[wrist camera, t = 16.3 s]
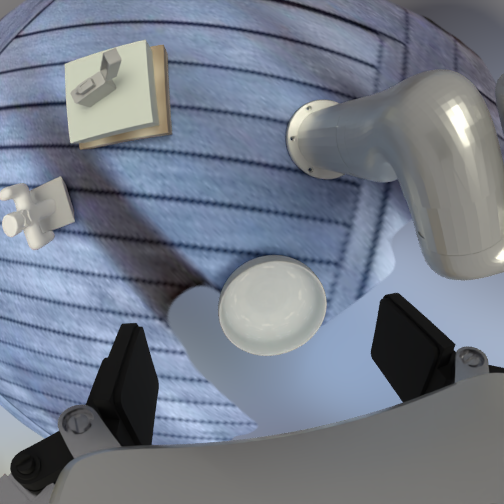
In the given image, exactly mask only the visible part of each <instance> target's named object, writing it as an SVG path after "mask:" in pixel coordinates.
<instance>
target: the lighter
mask: <svg viewBox="0 0 504 504" xmlns="http://www.w3.org/2000/svg"><path fill="white" fill-rule="evenodd" d="M121 61H122V60H121V57H120V55H119V53H118V51H117V49H116V48H114V49H111V50H109V51H107V52H104V53H103V55H102V61H101V67H100V72H97V73H96V74H94V75H93V76H91V77H90V78H87V79H86V80H85V81H83V82H82V83H80V84H79V85H78V86H77V87H76V88H75V89H74V90H72V91H71V93H70V94H71V96H72V98H73V100H74V102H75V103H76V104H80V105H83V106H87V107H92V106H93V105H94V104H96V103H97V102H98V101H100V100H101V99H103V98H104V97H106V96H107V95H109V94H110V93H112V92H113V91H115V90H116V86H115V84H114V82H113V80H112V79H113V78H115V77H117V74H118V71H119V67H120V64H121Z"/></svg>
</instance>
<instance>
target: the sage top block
mask: <svg viewBox="0 0 504 504" xmlns="http://www.w3.org/2000/svg"><path fill="white" fill-rule="evenodd" d="M115 48H116V49H117V51H118V53H119V55H120V57H121V60H122V61H121V64H120V67H119V71H118V74H117V77H115V78H113V79H112V80H113V82H114V84H115V86H116V90H115V91H113V92H112V93H110V94H109V95H107V96H106V97H104V98H103V99H101V100H100V101H98V102H97V103H96V104H94V105H93V106H92V107H87V106H83V105H80V104H76V103H75V102H74V100H73V98H72V96H71V94H70V93H71V91H72V90H74V89H75V88H76V87H77V86H78V85H79V84H80V83H82V82H83V81H85V80H86V79H87V78H90V77H91V76H93V75H94V74H96V73H97V72H100V67H101V61H102V55H103V53H104V52H107V51H109V50H111V49H108V50H105V51H102V52H98V53H95V54H92V55H89V56H86V57H83V58H80V59H77V60H75V61H72V62H69V63H67V64H65V86H66V104H67V116H68V127H69V136H70V143H87V142H91V141H94V140H98V139H102V138H106V137H110V136H113V135H117V134H122V133H126V132H130V131H134V130H139V129H144V128H148V127H153V126H158V125H160V124H159V116H158V107H157V98H156V88H155V77H154V65H153V52H152V50H151V48H150V46H149V45H148V43H147V41H146V40H143V41H139V42H134V43H130V44H126V45H123V46H119V47H115ZM112 49H114V48H112Z"/></svg>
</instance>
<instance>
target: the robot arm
mask: <svg viewBox="0 0 504 504" xmlns="http://www.w3.org/2000/svg"><path fill="white" fill-rule="evenodd" d="M495 96H496V104H497V109H498V113H499V117H500V122H501V126H502V130H503V134H504V74H502V75H501V77H500V78H499V79H498V81H497V83H496V87H495ZM306 108H308V109H309V110H306ZM290 137H292V141H291V140H290ZM286 144H287V149H288V152H289V154H290V157H291V158H292V160H293V162H294V163H295V164H296V165H297V166H298V168H299V169H301V170H302V171H303V172H305V173H306V174H308V175H310V176H312V177H316V178H320V179H334V178H338V177H341V176H343V175H345V174H346V175H350V176H354V177H358V178H362V179H366V180H370V181H375V182H391V181H394V180H397V179H398V181H399V183H400V186H401V189H402V192H403V195H404V197H405V199H406V201H407V204H408V207H409V210H410V213H411V216H412V220H413V223H414V226H415V230H416V233H417V237H418V241H419V244H420V247H421V250H422V254H423V256H424V258H425V261H426V262H427V264H428V265H429V267H430V268H431V269H432V270H433V271H434V272H435V273H437V274H438V275H440V276H442V277H445V278H448V279H452V280H473V279H479V278H484V277H488V276H492V275H495V274H499V273H502V272H504V164H503V159H502V154H501V150H500V145H499V141H498V138H497V134H496V130H495V127H494V124H493V121H492V118H491V115H490V112H489V110H488V108H487V106H486V103H485V101H484V100H483V98H482V96H481V95H480V93H479V91H478V90H477V89H476V87H475V86H474V85H473V84H472V83H471V82H470V81H469V80H468V79H467V78H465V77H464V76H462V75H461V74H459V73H457V72H454V71H450V70H431V71H425V72H422V73H419V74H416V75H414V76H411V77H409V78H407V79H405V80H403V81H402V82H400V83H398V84H396V85H394V86H393V87H391V88H389V89H386V90H384V91H382V92H379V93H376V94H373V95H370V96H366V97H362V98H359V99H355V100H351V101H347V102H344V103H340V104H339V103H337V102H334V101H330V100H316V101H312V102H309V103H307V104H305V105H303V106H302V107H300V108H299V109H298V110H297V111H296V112H295V113H294V114H293V116H292V117H291V119H290V121H289V123H288V126H287V131H286ZM309 168H310V169H311V170H310V171H308V169H309ZM454 347H455V344H454V343H453V342H452V341H451V340H450V339H449V338H448V337H447V336H446V335H445V334H444V333H443V332H441V331H440V330H439V329H438V328H437V327H436V326H435V325H434V324H433V323H432V322H431V321H430V320H428V319H427V318H426V317H425V316H424V315H423V314H422V313H420V312H419V311H418V310H417V309H416V308H415V307H414V306H413V305H412V304H410V303H409V302H408V301H407V300H406V299H405V298H404V297H402V296H401V295H400V294H399V293H393V294H388V295H385V296H384V297H383V299H381V301H380V305H379V311H378V317H377V322H376V328H375V333H374V339H373V343H372V348H371V357H372V359H373V360H374V362H375V363H376V365H377V366H378V367H379V369H380V370H381V372H382V373H383V374H384V375H385V377H386V379H387V380H388V382H389V383H390V384H391V386H392V387H393V389H394V390H395V392H396V393H397V394H398V396H399V397H400V399H401V400H402V402H403V403H401V404H398V405H395V406H392V407H389V408H386V409H382V410H379V411H376V412H373V413H370V414H366V415H363V416H359V417H355V418H352V419H348V420H344V421H340V422H336V423H332V424H328V425H324V426H319V427H315V428H310V429H306V430H300V431H295V432H290V433H284V434H278V435H272V436H265V437H258V438H250V439H243V440H233V441H222V442H210V443H195V444H174V445H152V436H153V427H154V419H155V411H156V404H157V396H158V389H159V383H158V378H157V375H156V372H155V368H154V365H153V362H152V358H151V355H150V351H149V348H148V344H147V341H146V337H145V333H144V330H143V327H138V325H137V323H127V324H122V325H121V327H120V329H119V332H118V334H117V336H116V339H115V341H114V344H113V346H112V349H111V351H110V354H109V356H108V358H104V359H103V361H102V363H101V366H100V368H99V371H98V374H97V376H96V379H95V381H94V384H93V387H92V389H91V392H90V395H89V398H88V400H87V403H86V405H75V406H72V407H70V408H68V409H66V410H65V411H64V412H63V413H62V414H61V415H60V417H59V419H58V428H59V431H58V432H56V433H54V434H53V435H51V436H49V437H47V438H45V439H43V440H42V441H40V442H38V443H36V444H34V445H33V446H31V447H29V448H27V449H25V450H23V451H21V452H19V453H18V454H17V455H16V456H15V457H14V458H13V460H12V463H11V468H10V469H11V474H10V475H9V476H7V475H6V474H4V475H3V476H2V477H1V478H0V504H504V368H501V367H496V366H492V365H488V359H487V357H486V355H485V354H484V353H483V352H482V351H481V350H479V349H477V348H474V347H462V348H460V349H458V351H457V352H455V351H454Z"/></svg>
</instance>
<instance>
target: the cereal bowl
mask: <svg viewBox="0 0 504 504" xmlns="http://www.w3.org/2000/svg"><path fill="white" fill-rule="evenodd" d="M326 304H327V303H326V295H325V291H324V288H323V286H322V284H321V282H320V280H319V279H318V277H317V276H316V275H315V274H314V272H313V271H312V270H311V269H310V268H308V267H307V266H306V265H304V264H303V263H301V262H299V261H298V260H295V259H293V258H290V257H287V256H281V255H269V256H268V255H267V256H262V257H257V258H255V259H253V260H250V261H248V262H246V263H244V264H243V265H241V266H240V267H239V268H238V269H236V270H235V271H234V272H233V273H232V274H231V275H230V277H229V278H228V279H227V281H226V283H225V284H224V287H223V289H222V291H221V295H220V298H219V305H218V316H219V321H220V325H221V327H222V330H223V332H224V334H225V335H226V337H227V338H228V339H229V340H230V341H231V342H232V343H233V344H234V345H236V346H237V347H238V348H240V349H242V350H244V351H246V352H248V353H251V354H255V355H262V356H272V355H279V354H283V353H287V352H289V351H292V350H294V349H296V348H298V347H300V346H302V345H303V344H305V343H306V342H307V341H308V340H309V339H311V338H312V336H313V335H314V334H315V333H316V332H317V330H318V329H319V327H320V326H321V324H322V322H323V319H324V317H325V313H326Z"/></svg>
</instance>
